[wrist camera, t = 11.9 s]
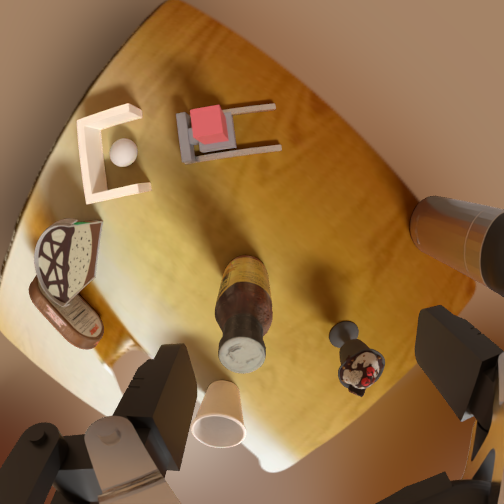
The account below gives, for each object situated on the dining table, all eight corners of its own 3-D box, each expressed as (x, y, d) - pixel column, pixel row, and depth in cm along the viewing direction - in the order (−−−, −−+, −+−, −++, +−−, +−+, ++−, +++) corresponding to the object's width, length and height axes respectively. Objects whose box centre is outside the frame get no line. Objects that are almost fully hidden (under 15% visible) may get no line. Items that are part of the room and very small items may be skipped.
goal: (141, 110, 38) (128, 103, 33) (151, 190, 41) (139, 192, 36) (93, 124, 38) (76, 120, 33) (102, 201, 41) (86, 204, 36)
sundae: (348, 307, 45) (382, 361, 30) (370, 333, 46) (406, 388, 31) (315, 334, 46) (337, 395, 31) (339, 358, 47) (364, 419, 33)
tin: (46, 274, 44) (18, 290, 36) (53, 262, 44) (24, 277, 35) (105, 334, 47) (83, 360, 38) (113, 324, 46) (92, 350, 38)
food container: (73, 202, 41) (34, 211, 31) (104, 211, 41) (69, 222, 32) (65, 274, 44) (31, 295, 34) (94, 285, 44) (62, 310, 35)
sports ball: (146, 153, 39) (136, 152, 36) (127, 172, 40) (115, 172, 36) (131, 134, 39) (120, 130, 35) (112, 152, 39) (99, 151, 35)
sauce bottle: (222, 255, 43) (197, 318, 24) (266, 252, 43) (276, 314, 23) (226, 298, 44) (208, 382, 25) (269, 295, 44) (279, 379, 25)
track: (274, 104, 38) (274, 103, 37) (281, 150, 39) (281, 150, 38) (180, 119, 38) (178, 118, 37) (186, 164, 40) (184, 164, 39)
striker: (231, 108, 37) (224, 88, 27) (237, 154, 38) (232, 148, 29) (181, 117, 37) (159, 101, 27) (187, 163, 39) (166, 159, 29)
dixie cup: (192, 378, 48) (182, 417, 39) (239, 370, 48) (237, 410, 38) (208, 411, 50) (202, 450, 41) (252, 404, 50) (252, 445, 40)
